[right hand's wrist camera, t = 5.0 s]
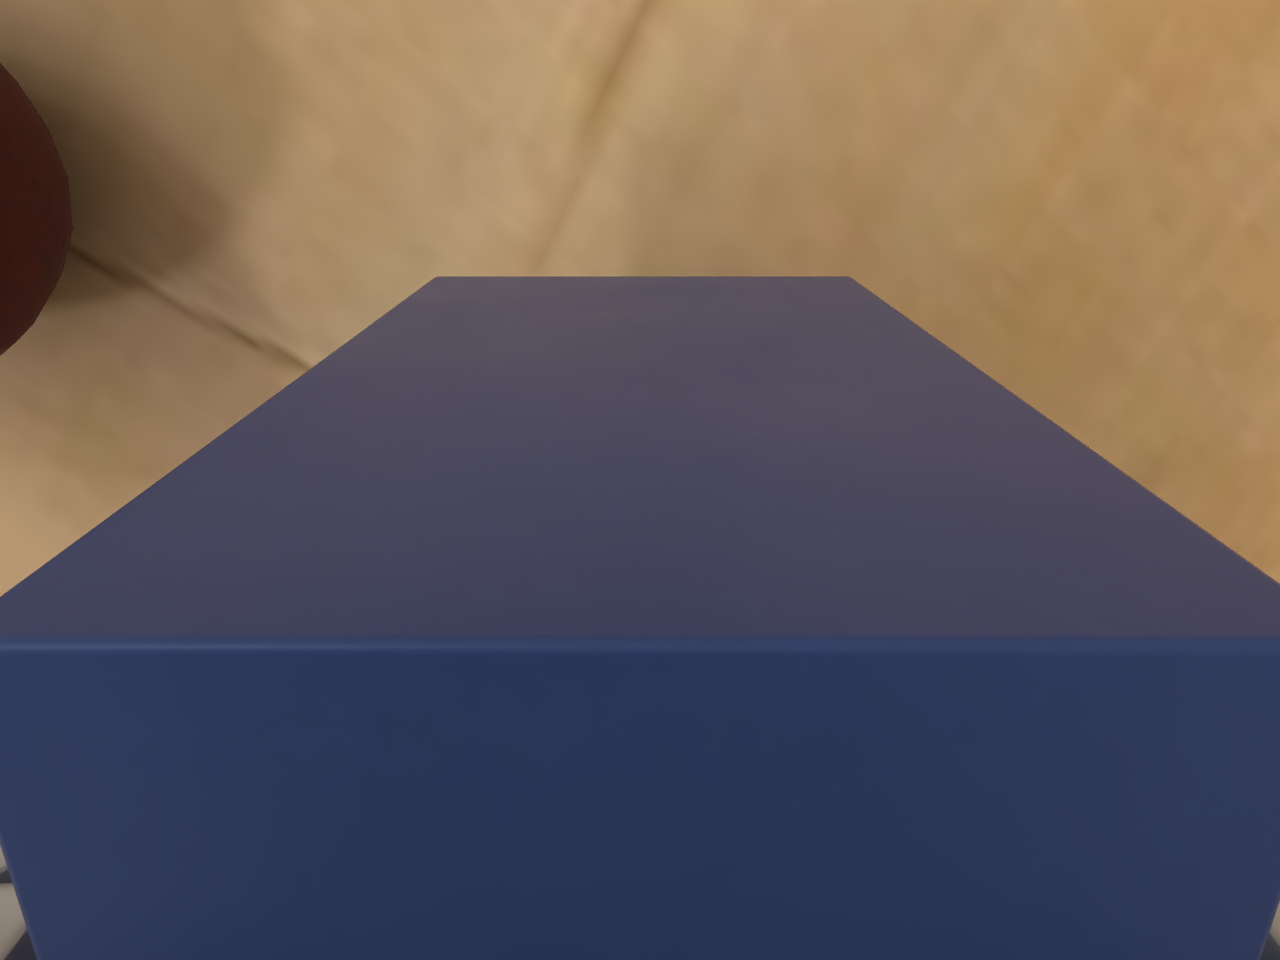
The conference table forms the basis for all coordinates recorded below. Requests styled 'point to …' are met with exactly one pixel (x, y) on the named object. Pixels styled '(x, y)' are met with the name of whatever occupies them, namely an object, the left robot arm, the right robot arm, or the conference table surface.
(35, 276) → the dark red ball
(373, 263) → the conference table surface
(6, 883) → the right robot arm
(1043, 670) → the box
